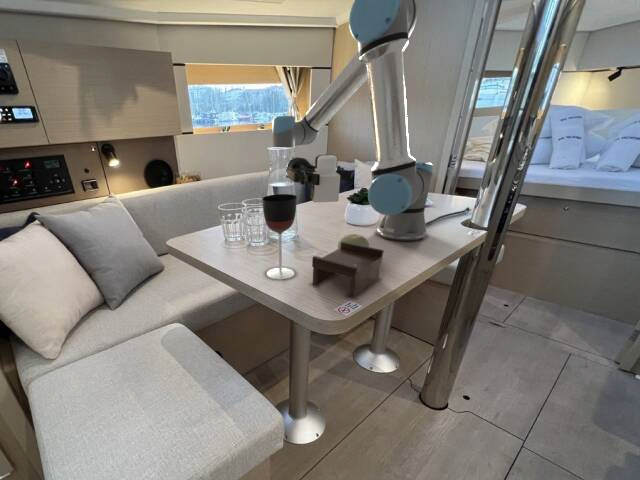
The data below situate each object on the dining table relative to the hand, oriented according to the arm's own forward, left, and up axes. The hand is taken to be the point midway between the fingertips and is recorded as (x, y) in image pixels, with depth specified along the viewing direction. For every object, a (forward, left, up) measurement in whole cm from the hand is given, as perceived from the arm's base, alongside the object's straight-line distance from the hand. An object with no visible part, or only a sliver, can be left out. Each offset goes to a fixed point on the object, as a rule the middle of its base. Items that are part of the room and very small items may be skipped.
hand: (334, 178), depth 86 cm
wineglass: (+20, -3, -22) cm, 30 cm away
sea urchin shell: (-6, +5, -22) cm, 23 cm away
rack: (+14, +14, -22) cm, 29 cm away
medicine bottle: (-2, -4, -7) cm, 8 cm away
